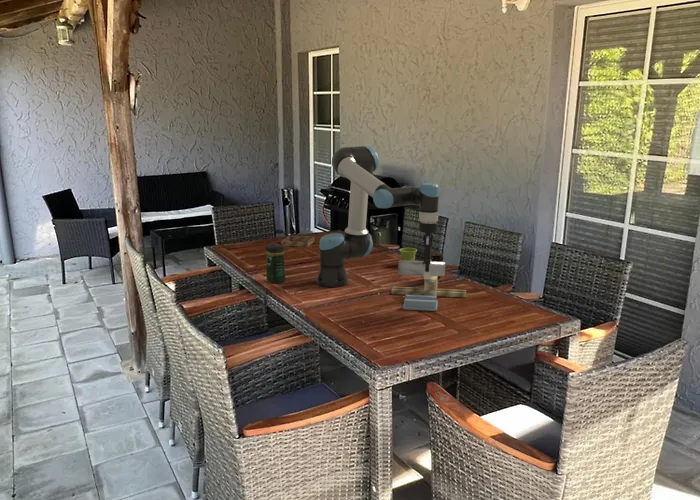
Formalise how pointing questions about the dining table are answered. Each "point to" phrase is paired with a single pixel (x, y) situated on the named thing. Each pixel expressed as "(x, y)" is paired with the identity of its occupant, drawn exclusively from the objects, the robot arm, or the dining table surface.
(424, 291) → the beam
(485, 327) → the dining table surface
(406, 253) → the plant pot
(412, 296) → the v block
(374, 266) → the dining table surface
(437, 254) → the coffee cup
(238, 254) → the dining table surface
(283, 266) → the coffee jar
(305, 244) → the can corral
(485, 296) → the dining table surface
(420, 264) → the axle
